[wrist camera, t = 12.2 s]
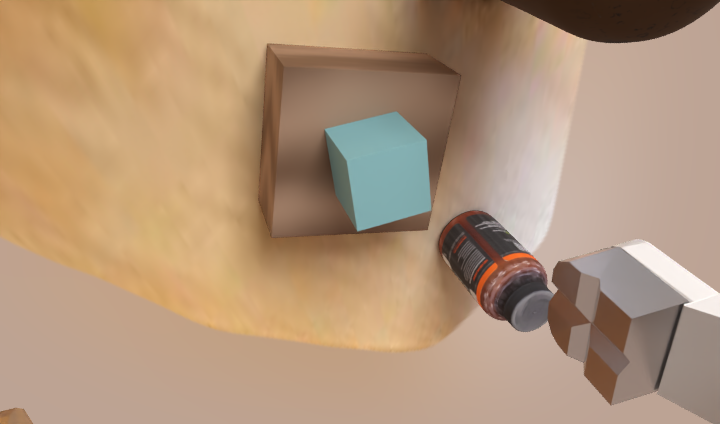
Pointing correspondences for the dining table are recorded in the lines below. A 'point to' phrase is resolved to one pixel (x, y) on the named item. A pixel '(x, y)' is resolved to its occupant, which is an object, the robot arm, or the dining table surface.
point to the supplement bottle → (496, 270)
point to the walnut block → (337, 107)
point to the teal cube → (379, 169)
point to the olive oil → (616, 17)
